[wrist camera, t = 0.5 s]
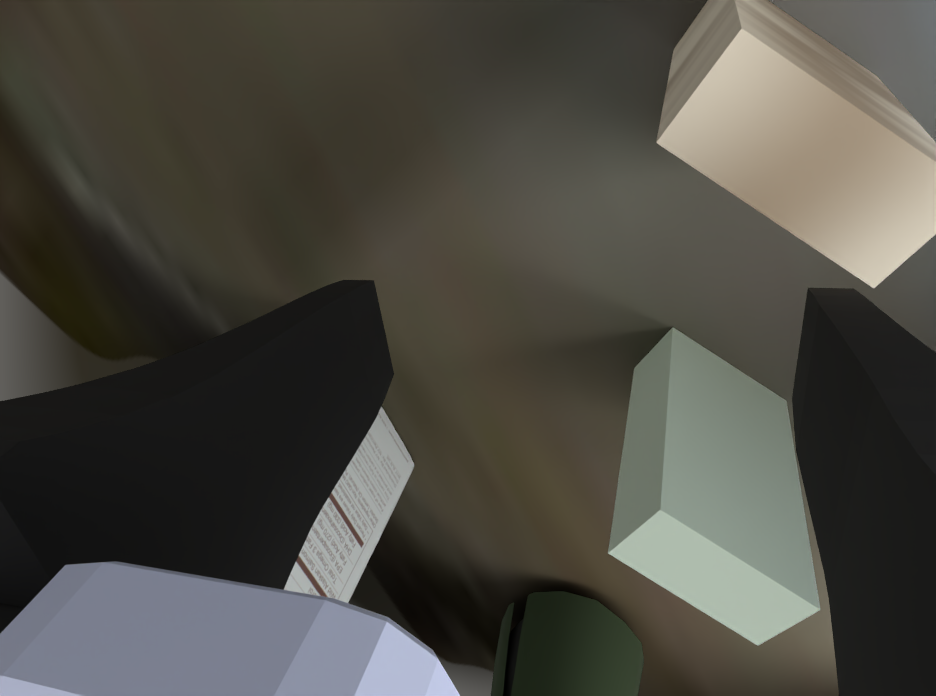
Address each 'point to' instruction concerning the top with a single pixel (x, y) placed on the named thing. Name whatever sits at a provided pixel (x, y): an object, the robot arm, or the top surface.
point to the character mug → (566, 650)
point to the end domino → (713, 492)
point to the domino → (801, 136)
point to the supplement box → (353, 516)
